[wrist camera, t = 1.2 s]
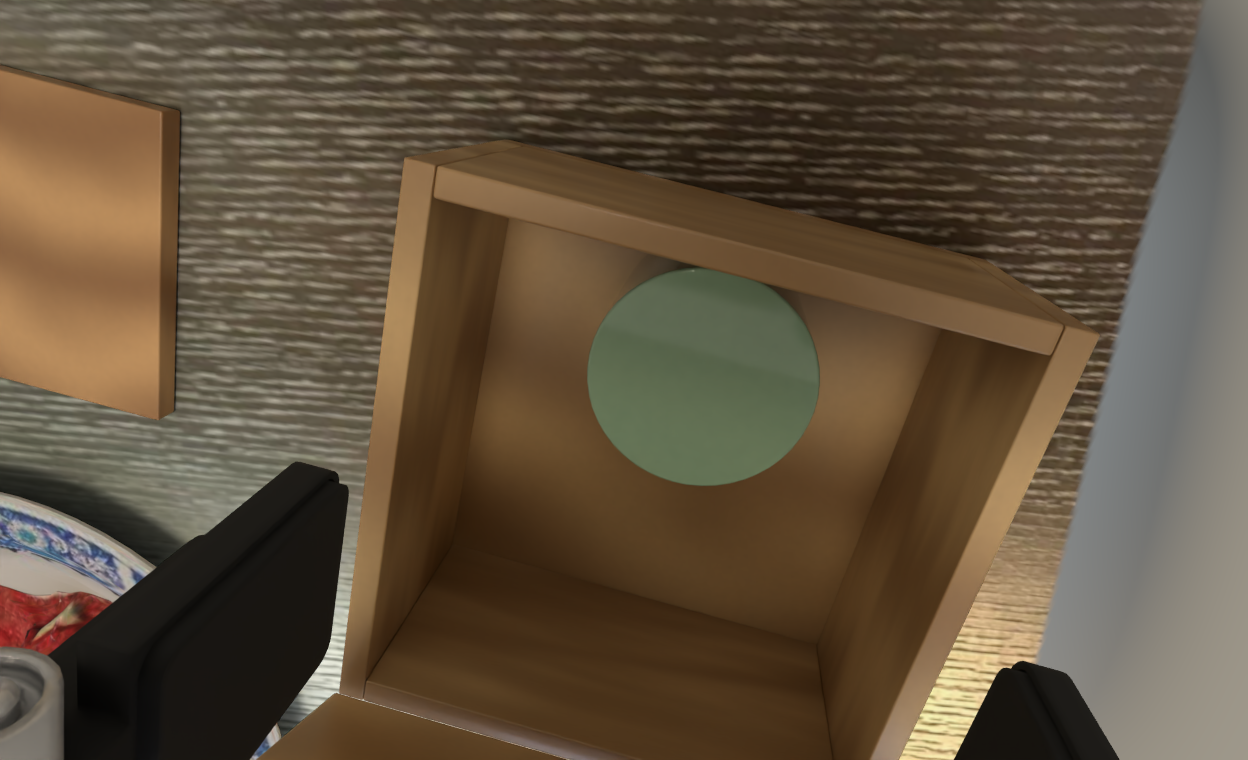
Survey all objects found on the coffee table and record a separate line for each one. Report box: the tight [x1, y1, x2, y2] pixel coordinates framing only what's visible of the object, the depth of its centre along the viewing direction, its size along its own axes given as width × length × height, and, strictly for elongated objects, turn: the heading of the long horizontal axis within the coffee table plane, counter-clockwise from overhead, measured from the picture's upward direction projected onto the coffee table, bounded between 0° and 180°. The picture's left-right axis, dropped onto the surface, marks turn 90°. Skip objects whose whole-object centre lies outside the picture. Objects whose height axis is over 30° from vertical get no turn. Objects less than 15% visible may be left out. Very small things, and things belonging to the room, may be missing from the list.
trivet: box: [0, 65, 180, 420], centre depth 30 cm, size 12×12×1 cm
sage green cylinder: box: [587, 254, 820, 486], centre depth 24 cm, size 6×6×6 cm
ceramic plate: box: [0, 492, 282, 760], centre depth 37 cm, size 26×26×3 cm
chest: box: [339, 139, 1100, 760], centre depth 25 cm, size 17×17×9 cm
